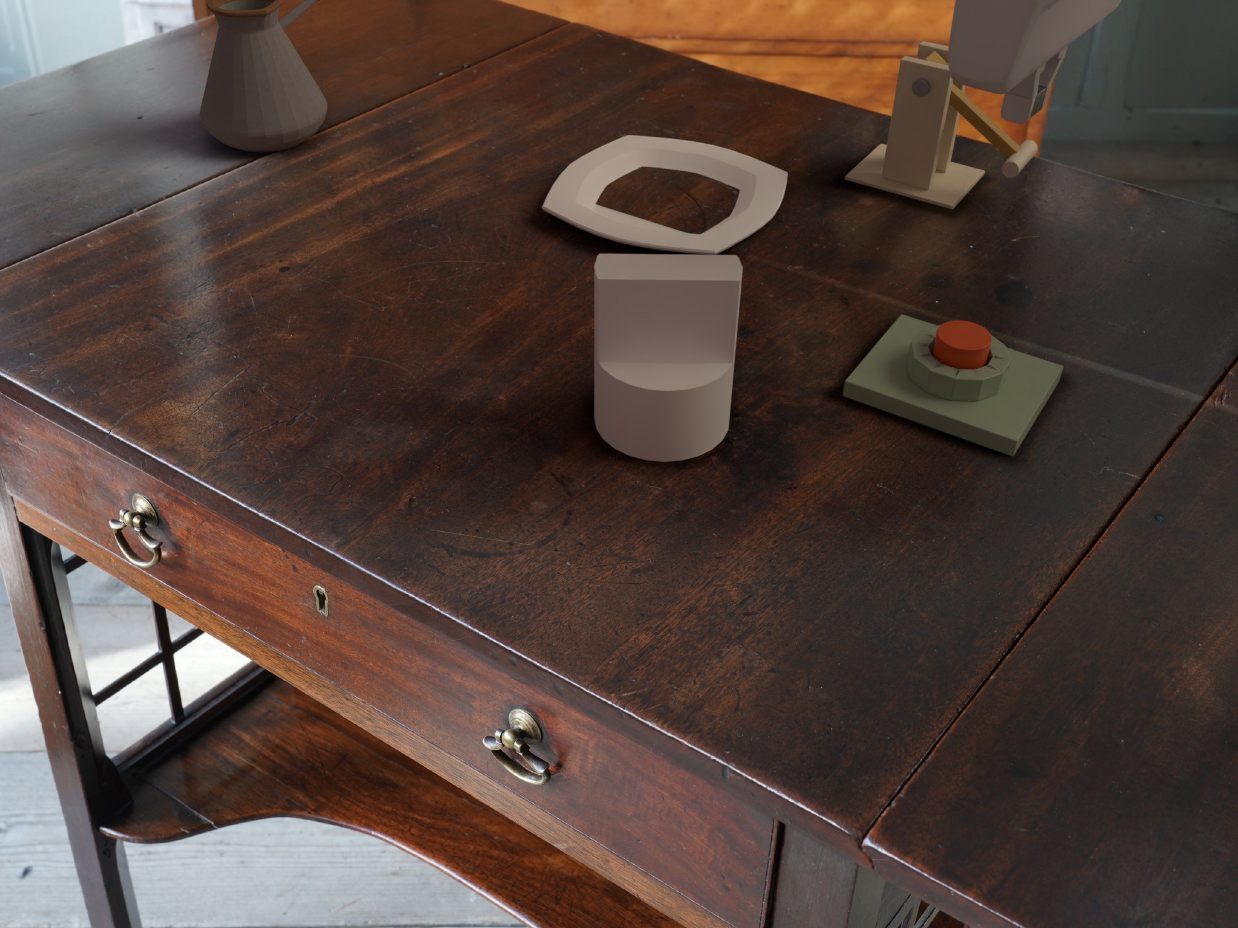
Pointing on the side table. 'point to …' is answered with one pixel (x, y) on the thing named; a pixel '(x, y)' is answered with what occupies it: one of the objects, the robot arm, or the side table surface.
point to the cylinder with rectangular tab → (664, 351)
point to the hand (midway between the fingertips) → (1021, 115)
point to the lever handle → (990, 129)
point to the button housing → (954, 387)
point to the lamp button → (962, 345)
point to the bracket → (920, 137)
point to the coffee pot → (259, 79)
